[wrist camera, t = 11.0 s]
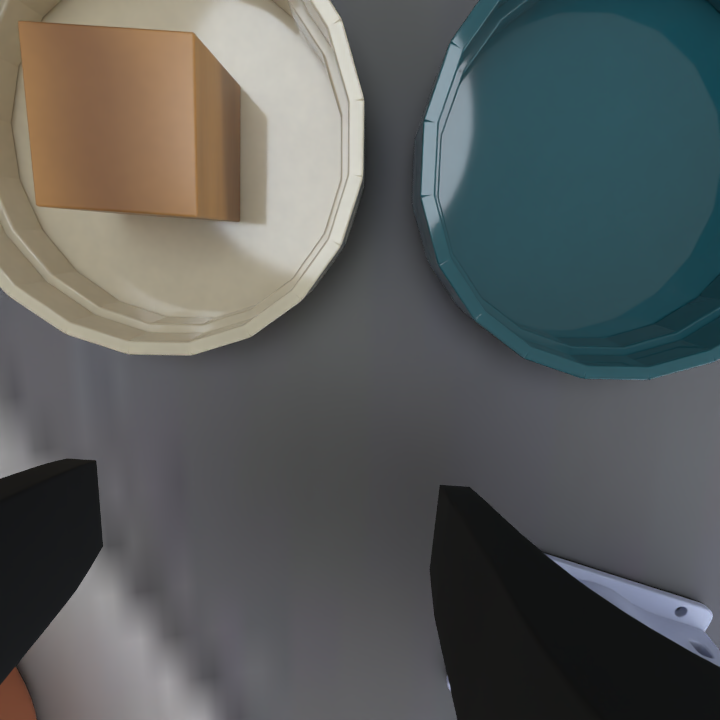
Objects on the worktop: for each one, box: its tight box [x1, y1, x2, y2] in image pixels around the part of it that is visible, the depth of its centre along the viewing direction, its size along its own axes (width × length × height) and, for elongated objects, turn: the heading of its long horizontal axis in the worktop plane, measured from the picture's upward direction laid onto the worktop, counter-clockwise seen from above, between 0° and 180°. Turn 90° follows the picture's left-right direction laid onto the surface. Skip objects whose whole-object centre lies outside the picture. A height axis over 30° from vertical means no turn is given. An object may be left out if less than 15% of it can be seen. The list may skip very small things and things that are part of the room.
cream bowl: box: [0, 0, 366, 356], centre depth 15 cm, size 13×13×4 cm
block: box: [18, 21, 241, 222], centre depth 14 cm, size 4×4×4 cm
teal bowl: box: [412, 0, 720, 380], centre depth 15 cm, size 13×13×4 cm
